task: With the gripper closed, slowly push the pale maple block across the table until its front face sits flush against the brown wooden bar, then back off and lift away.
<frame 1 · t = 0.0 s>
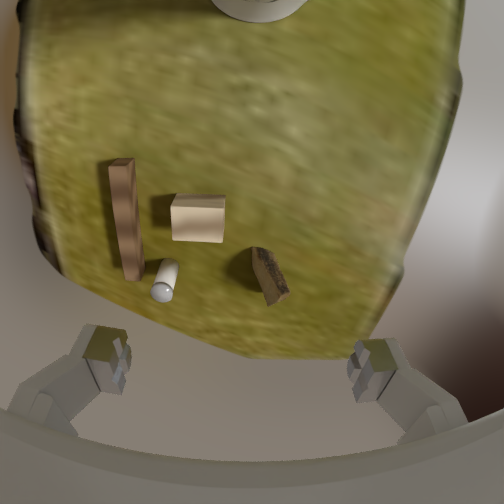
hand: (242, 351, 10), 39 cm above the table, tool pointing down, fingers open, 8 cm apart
brown wooden bar: (131, 217, 50), on the table
rock: (264, 270, 58), on the table
maple block: (200, 210, 50), on the table
salt shaker: (169, 265, 56), on the table
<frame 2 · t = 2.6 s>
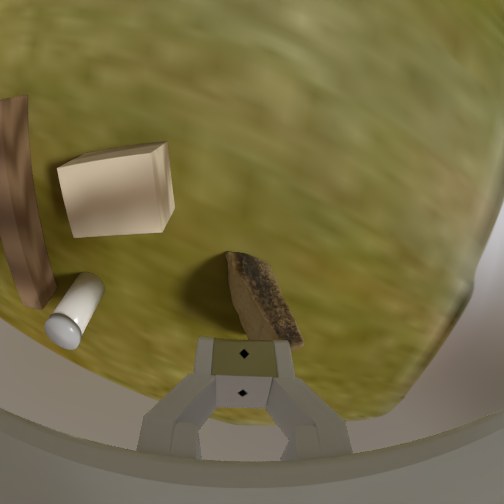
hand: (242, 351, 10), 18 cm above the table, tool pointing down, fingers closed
brown wooden bar: (26, 200, 25), on the table
rock: (252, 296, 31), on the table
maple block: (128, 179, 25), on the table
salt shaker: (90, 285, 30), on the table
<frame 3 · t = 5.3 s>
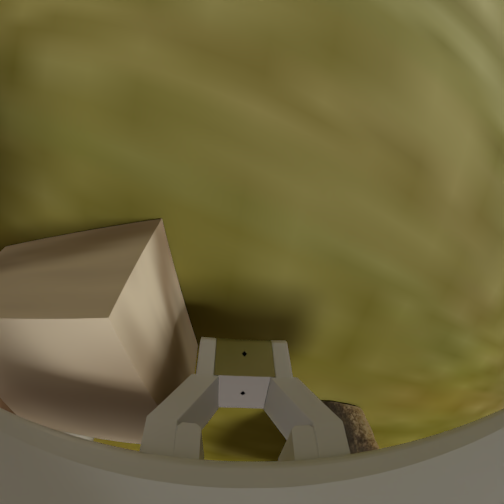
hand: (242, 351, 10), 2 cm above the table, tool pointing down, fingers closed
rock: (322, 434, 18), on the table
maple block: (93, 297, 11), on the table, touching gripper
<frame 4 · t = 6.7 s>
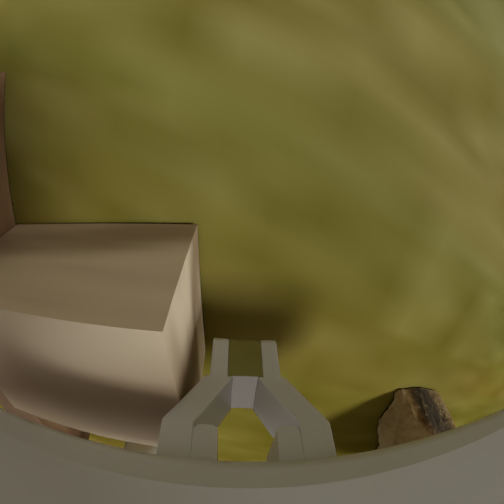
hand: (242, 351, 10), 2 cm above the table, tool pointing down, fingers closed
brown wooden bar: (19, 305, 12), on the table
rock: (396, 421, 19), on the table
maple block: (106, 291, 11), on the table, touching brown wooden bar, gripper
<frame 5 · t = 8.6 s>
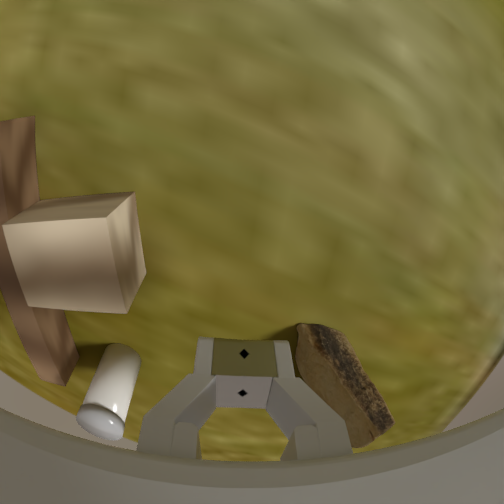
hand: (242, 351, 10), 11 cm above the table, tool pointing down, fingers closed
brown wooden bar: (36, 256, 20), on the table
rock: (318, 365, 26), on the table
maple block: (90, 234, 20), on the table
salt shaker: (122, 357, 25), on the table
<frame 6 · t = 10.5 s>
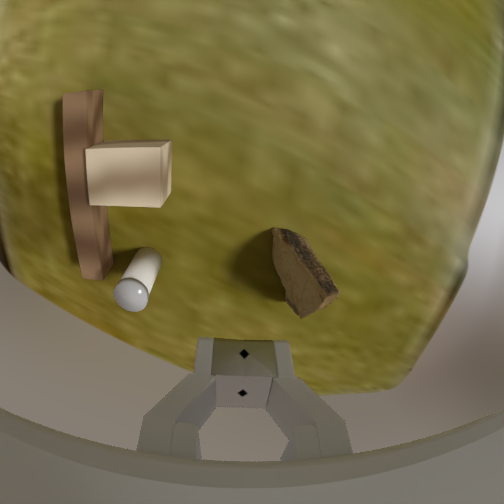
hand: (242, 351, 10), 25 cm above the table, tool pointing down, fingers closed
brown wooden bar: (93, 182, 32), on the table
rock: (290, 267, 38), on the table
maple block: (137, 165, 31), on the table
salt shaker: (148, 259, 37), on the table
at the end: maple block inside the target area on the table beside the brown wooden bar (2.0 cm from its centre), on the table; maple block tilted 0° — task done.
